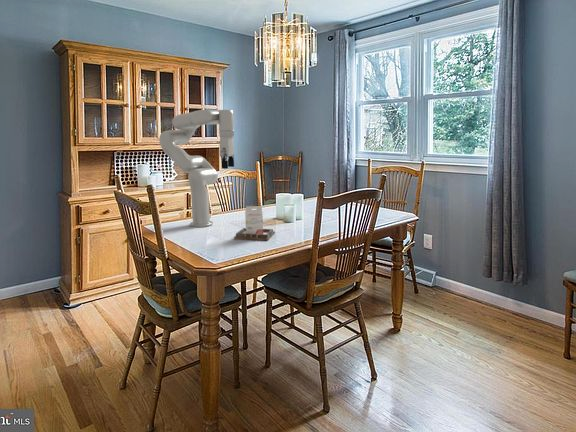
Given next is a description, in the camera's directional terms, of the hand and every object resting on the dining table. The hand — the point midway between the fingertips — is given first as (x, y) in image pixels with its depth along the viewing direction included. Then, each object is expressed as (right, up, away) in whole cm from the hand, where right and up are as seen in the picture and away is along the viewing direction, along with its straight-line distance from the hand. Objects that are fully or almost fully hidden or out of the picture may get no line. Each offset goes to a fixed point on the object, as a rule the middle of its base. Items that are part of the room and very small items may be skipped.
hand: (228, 167), depth 223 cm
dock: (+15, -36, -8) cm, 39 cm away
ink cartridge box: (+14, -35, -7) cm, 38 cm away
